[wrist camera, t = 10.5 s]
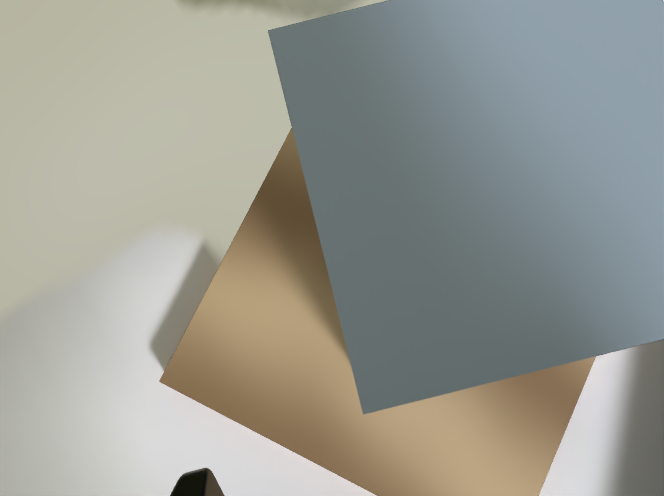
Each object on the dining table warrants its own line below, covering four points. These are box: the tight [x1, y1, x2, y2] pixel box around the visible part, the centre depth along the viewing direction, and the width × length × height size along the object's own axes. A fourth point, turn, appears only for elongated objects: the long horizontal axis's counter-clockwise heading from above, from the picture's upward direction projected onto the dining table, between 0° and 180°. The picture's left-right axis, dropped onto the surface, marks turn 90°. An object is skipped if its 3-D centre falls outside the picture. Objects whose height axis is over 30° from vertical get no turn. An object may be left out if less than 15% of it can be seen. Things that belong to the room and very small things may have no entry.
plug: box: [268, 0, 664, 415], centre depth 12 cm, size 4×4×12 cm
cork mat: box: [159, 128, 596, 496], centre depth 18 cm, size 11×11×1 cm
